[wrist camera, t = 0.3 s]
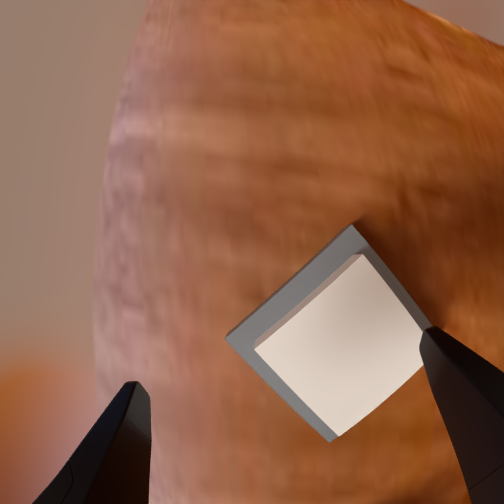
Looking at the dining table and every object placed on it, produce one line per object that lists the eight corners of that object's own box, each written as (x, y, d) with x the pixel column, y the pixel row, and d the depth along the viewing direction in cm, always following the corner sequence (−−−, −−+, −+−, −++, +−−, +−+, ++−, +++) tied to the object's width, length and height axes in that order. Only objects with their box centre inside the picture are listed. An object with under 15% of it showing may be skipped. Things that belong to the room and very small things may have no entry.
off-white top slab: (421, 343, 21) (436, 351, 19) (332, 420, 22) (338, 436, 19) (352, 254, 22) (362, 254, 19) (255, 339, 22) (254, 349, 19)
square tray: (429, 334, 24) (442, 340, 21) (324, 428, 24) (329, 442, 21) (343, 227, 24) (351, 224, 22) (228, 331, 25) (224, 338, 22)
